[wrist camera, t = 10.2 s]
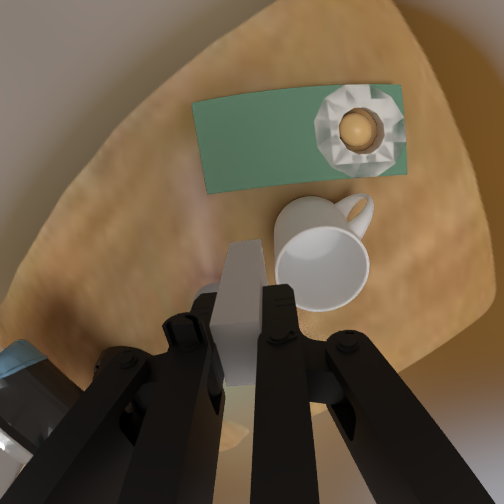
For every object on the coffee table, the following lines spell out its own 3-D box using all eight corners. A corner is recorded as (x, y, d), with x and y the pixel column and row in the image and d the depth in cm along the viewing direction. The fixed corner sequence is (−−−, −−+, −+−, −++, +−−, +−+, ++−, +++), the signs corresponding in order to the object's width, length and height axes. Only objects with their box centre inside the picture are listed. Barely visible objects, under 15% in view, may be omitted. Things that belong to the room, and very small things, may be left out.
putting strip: (211, 189, 36) (207, 194, 34) (196, 103, 32) (191, 103, 30) (398, 170, 34) (407, 174, 31) (392, 86, 30) (400, 84, 27)
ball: (333, 147, 31) (366, 153, 30) (332, 115, 29) (366, 119, 27) (345, 138, 34) (375, 143, 32) (344, 108, 31) (375, 112, 30)
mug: (379, 210, 36) (414, 246, 26) (308, 274, 40) (318, 327, 30) (332, 158, 34) (357, 177, 24) (258, 229, 38) (254, 273, 28)
